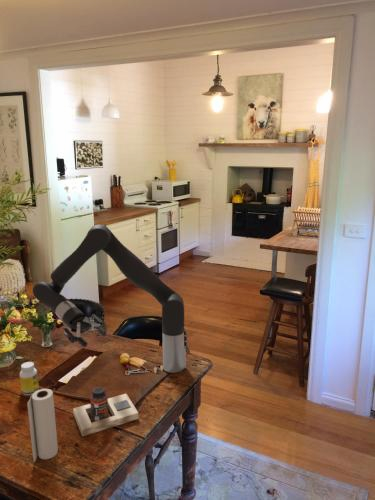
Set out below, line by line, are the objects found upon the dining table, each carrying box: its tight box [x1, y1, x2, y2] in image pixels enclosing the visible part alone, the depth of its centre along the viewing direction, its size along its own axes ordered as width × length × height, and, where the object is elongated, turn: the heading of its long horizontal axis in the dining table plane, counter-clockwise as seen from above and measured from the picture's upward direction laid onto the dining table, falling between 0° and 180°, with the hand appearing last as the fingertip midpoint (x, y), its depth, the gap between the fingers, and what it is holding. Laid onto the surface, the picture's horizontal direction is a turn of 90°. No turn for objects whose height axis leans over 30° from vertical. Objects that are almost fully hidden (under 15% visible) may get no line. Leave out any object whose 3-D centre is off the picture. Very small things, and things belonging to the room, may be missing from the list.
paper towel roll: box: [26, 388, 59, 463], centre depth 127 cm, size 7×6×21 cm
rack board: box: [72, 393, 140, 437], centre depth 147 cm, size 20×13×3 cm, turn 117°
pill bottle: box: [19, 361, 40, 396], centre depth 161 cm, size 6×6×12 cm
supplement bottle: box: [89, 386, 109, 422], centre depth 145 cm, size 6×6×11 cm
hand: (96, 339), depth 152 cm, fingers open, 8 cm apart
